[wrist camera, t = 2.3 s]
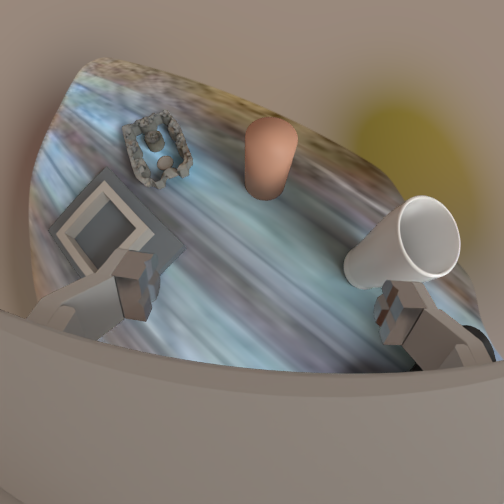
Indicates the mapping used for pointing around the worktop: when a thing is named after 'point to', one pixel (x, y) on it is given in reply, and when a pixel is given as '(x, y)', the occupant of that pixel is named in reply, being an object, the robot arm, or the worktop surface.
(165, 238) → the base board
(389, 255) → the drinking glass
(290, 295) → the worktop surface
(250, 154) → the pillar
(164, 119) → the grey rock frame
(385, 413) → the robot arm
